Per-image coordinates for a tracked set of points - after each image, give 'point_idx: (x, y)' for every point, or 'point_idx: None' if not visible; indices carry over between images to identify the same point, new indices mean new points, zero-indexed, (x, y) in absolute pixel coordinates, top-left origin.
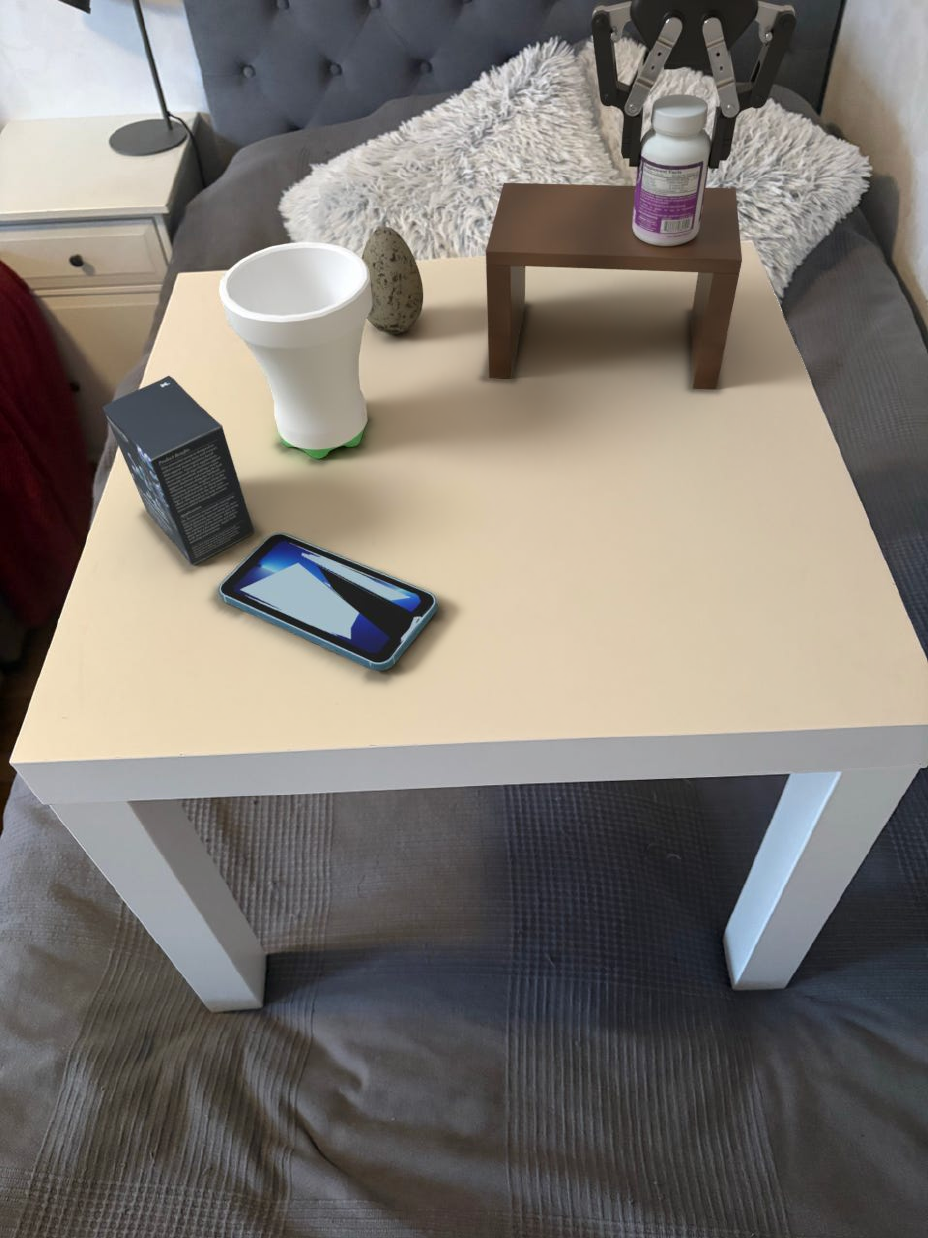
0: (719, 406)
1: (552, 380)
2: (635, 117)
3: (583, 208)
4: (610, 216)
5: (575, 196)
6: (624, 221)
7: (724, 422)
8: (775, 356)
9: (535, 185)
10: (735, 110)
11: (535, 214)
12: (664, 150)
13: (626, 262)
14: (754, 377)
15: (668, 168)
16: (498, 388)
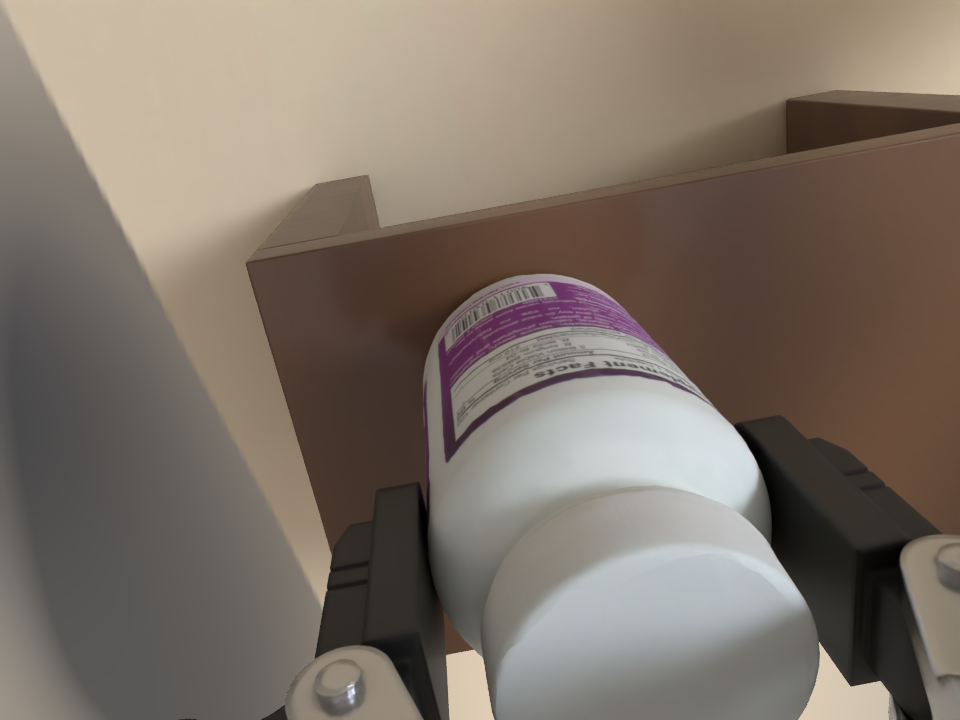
0: (294, 119)
1: (689, 120)
2: (899, 537)
3: None
4: None
5: None
6: None
7: (268, 57)
8: (217, 344)
9: None
10: (309, 682)
11: (956, 381)
12: (655, 422)
13: (629, 187)
14: (243, 254)
15: (602, 368)
16: (810, 53)
